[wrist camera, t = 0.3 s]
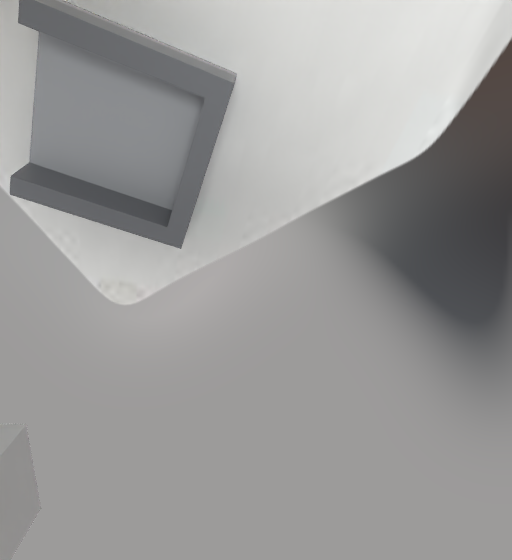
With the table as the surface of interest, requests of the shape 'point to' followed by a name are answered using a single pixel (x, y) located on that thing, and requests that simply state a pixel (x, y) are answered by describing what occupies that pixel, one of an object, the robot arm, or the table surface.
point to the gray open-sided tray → (118, 123)
